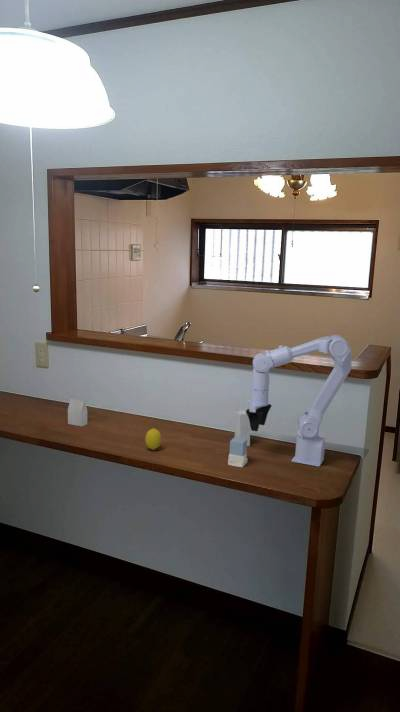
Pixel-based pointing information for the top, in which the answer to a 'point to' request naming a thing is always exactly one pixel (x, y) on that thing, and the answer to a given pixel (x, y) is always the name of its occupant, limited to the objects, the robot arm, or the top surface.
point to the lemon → (153, 438)
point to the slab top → (237, 458)
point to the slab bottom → (237, 463)
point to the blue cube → (238, 446)
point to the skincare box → (242, 425)
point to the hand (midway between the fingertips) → (257, 427)
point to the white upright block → (77, 412)
